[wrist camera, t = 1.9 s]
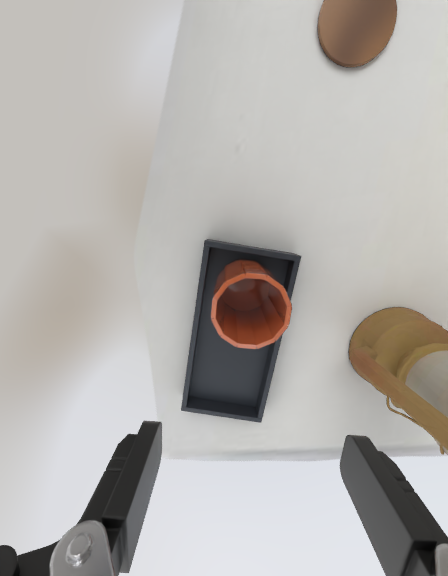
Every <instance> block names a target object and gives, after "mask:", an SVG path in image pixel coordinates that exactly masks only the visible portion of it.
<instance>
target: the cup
mask: <svg viewBox="0 0 448 576" xmlns="http://www.w3.org/2000/svg"><path fill="white" fill-rule="evenodd" d="M291 306H292V305H291V302H290V300H289V297H288V295H287V292H286V290H285V288H284V287H283V286H282V285H281V283H280V282H279V281H278V280H277V279H276V278H275V277H274V276H273V275H272V274H271V273H270V271H269V270H268V269H267V268H266V267H264V266H263V265H262V264H260V263H259V262H257V261H256V260H253V259H243V258H240V259H237V260H235V261H233V262H230V263H228V264H227V265H225V267H224V268H223V269H222V271H221V272H220V274H219V275H218V277H217V281H216V286H215V290H214V295H213V299H212V310H211V318H212V319H211V320H212V322H213V324H214V326H215V328H216V330H217V332H218V334H219V336H220V335H221V338H223V339H224V340H226V341H227V342H229V343H230V344H232V345H233V346H235V347H236V346H237V347H238V348H248V349H256V347H257V349H259V348H261V347H264V346H266V345H269V344H271V343H274V342H275V341H277V340H278V338H279V337H280V336H281V335H282V334H283V332H284V331H285V330H286V329H287V328H288V326H287V325H289V322H290V316H291V310H292V307H291Z"/></svg>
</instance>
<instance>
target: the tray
mask: <svg viewBox="0 0 448 576" xmlns="http://www.w3.org/2000/svg"><path fill="white" fill-rule="evenodd" d="M240 258H243V259H253V260H256V261H257V262H259V263H260V264H262V265H263V266H264V267H266V268H267V269H268V270H269V271H270V273H271V274H272V275H273V276H274V277H275V278H276V279H277V280H278V281H279V282H280V283H281V285H282V286H283V287H284V288H285V290H286V292H287V295H288V297H289V300H290V301H291V296H292V292H293V288H294V284H295V280H296V276H297V271H298V267H299V263H300V259H301V256H299V255H297V254H294V253H288V252H282V251H276V250H270V249H264V248H258V247H252V246H246V245H240V244H233V243H227V242H221V241H215V240H209V239H207V240H205V243H204V250H203V257H202V264H201V271H200V278H199V286H198V293H197V300H196V307H195V314H194V321H193V329H192V336H191V343H190V350H189V357H188V364H187V372H186V379H185V386H184V393H183V400H182V407H181V411H187V412H194V413H201V414H207V415H214V416H221V417H227V418H234V419H241V420H248V421H254V422H261V421H262V417H263V413H264V409H265V404H266V400H267V396H268V392H269V388H270V384H271V380H272V375H273V371H274V367H275V363H276V359H277V355H278V350H279V346H280V342H281V338H282V335H281V336H280V337H279V338H278V340H277V341H275V342H274V343H271V344H269V345H266V346H264V347H261V348H259V349H257V347H256V349H248V348H238V347H237V346H236V347H235V346H233V345H232V344H230V343H229V342H227V341H226V340H224V339H223V338H221V335H220V336H219V334H218V332H217V330H216V328H215V326H214V324H213V322H212V320H211V319H212V318H211V310H212V299H213V295H214V290H215V286H216V281H217V277H218V275H219V274H220V272H221V271H222V269H223V268H224V267H225V265H227V264H228V263H230V262H233V261H235V260H237V259H240Z"/></svg>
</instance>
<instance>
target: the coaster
mask: <svg viewBox="0 0 448 576" xmlns="http://www.w3.org/2000/svg"><path fill="white" fill-rule="evenodd" d="M396 17H397V4H396V0H324V2H323V4H322V6H321V9H320V13H319V18H318V36H319V41H320V44H321V47H322V49H323V51H324V52H325V54H326V55H327V56H328V57H329V58H330V59H331V60H332V61H333V62H334V63H336V64H338V65H341V66H344V67H357V66H361V65H364V64H366V63H368V62H369V61H371V60H373V59H374V58H375V57H376V56H377V55H378V54H379V53H380V52H381V51H382V50H383V48H384V47H385V46H386V44H387V43H388V41H389V39H390V37H391V35H392V33H393V30H394V27H395V23H396Z"/></svg>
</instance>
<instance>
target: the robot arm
mask: <svg viewBox="0 0 448 576" xmlns="http://www.w3.org/2000/svg"><path fill="white" fill-rule="evenodd" d="M161 454H162V423H161V422H155V421H144V422H143V423H142V425H141V428H140V430H139V432H138V434H128V435H127V436H126V437H125V438H124V439H123V440H122V441H121V442H120V443H119V444H118V446H117V448H116V450H115V452H114V454H113V456H112V459H111V460H110V462H109V464H108V466H107V468H106V471H105V472H104V474H103V476H102V478H101V480H100V482H99V484H98V486H97V488H96V490H95V492H94V494H93V496H92V498H91V500H90V502H89V504H88V506H87V508H86V510H85V512H84V513H83V515H82V517H81V519H80V520H79V522H78V523H77V525H76V526H74V527H73V528H71V529H70V530H69V531H68V532H67V533H66V534H65V535H64V536H63V537H62V538H61V539H60V540H59V541H57V542H55V543H53V544H52V545H49V546H46V547H43V548H40V549H37V550H34V551H31V552H28V553H25V554H21V555H18V556H17V554H16V552H15V549H13V548H12V547H11V546H7V545H1V546H0V576H118V575H119V572H121V573H129V571H130V567H131V564H132V560H133V556H134V553H135V549H136V546H137V543H138V539H139V535H140V532H141V529H142V525H143V522H144V518H145V515H146V511H147V508H148V504H149V500H150V497H151V494H152V490H153V486H154V483H155V480H156V476H157V473H158V469H159V465H160V460H161ZM340 471H341V476H342V479H343V482H344V484H345V486H346V488H347V490H348V493H349V495H350V497H351V499H352V501H353V504H354V506H355V508H356V510H357V513H358V515H359V517H360V519H361V521H362V524H363V526H364V528H365V530H366V533H367V535H368V537H369V539H370V541H371V544H372V546H373V548H374V550H375V552H376V555H377V557H378V559H379V561H380V564H381V566H382V568H383V570H384V572H385V575H386V576H448V537H447V536H446V534H445V533H444V532H443V530H442V529H441V527H440V526H439V524H438V523H437V522H436V520H435V519H434V517H433V516H432V514H431V513H430V512H429V510H428V509H427V507H426V506H425V505H424V503H423V502H422V500H421V499H420V497H419V496H418V495H417V493H415V492H414V489H413V488H412V486H411V485H410V483H409V482H408V481H406V478H405V476H404V475H403V473H402V472H401V471H400V469H399V468H398V466H397V465H396V464H395V463H394V462H393V461H392V460H391V459H390V458H389V457H388V456H387V455H386V454H384V453H383V452H381V451H377V449H376V448H375V446H374V445H373V443H372V442H371V440H370V439H369V438H368V437H366V436H355V435H347V436H346V439H345V443H344V448H343V452H342V456H341V460H340Z"/></svg>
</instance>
